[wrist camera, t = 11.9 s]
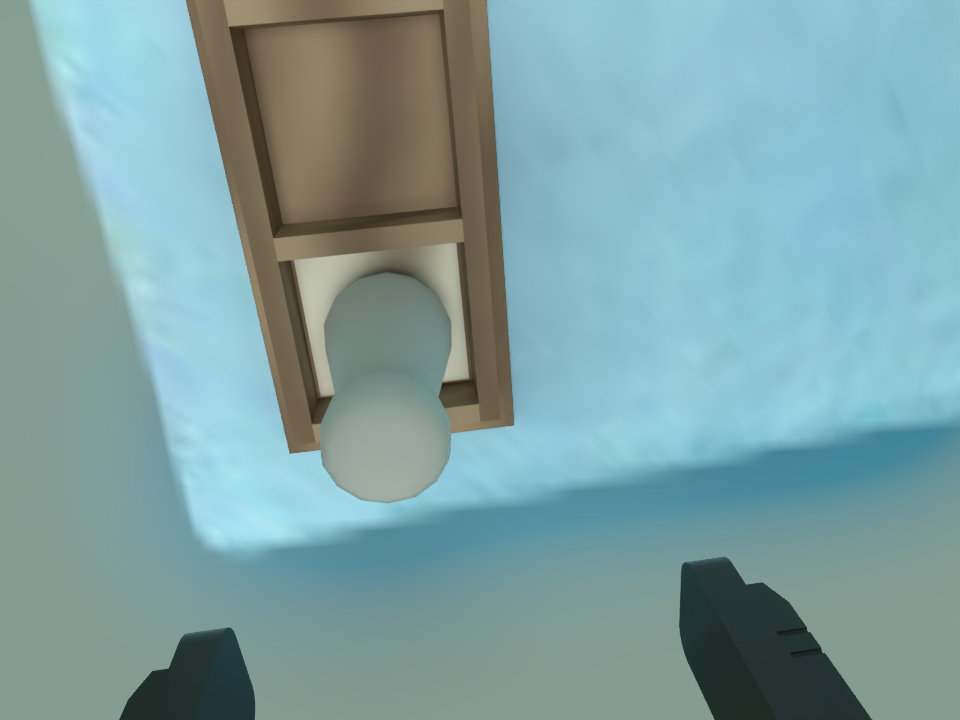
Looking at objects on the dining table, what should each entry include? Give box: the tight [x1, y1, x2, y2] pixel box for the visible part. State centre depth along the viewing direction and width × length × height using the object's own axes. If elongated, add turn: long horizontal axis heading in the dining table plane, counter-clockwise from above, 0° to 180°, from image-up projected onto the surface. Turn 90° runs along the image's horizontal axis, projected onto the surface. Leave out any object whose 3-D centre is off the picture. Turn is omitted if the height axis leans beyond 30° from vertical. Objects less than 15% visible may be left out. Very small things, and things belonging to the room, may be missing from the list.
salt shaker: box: [319, 272, 452, 503], centre depth 27 cm, size 6×6×13 cm
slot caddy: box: [186, 0, 514, 454], centre depth 30 cm, size 12×23×4 cm, turn 4°
